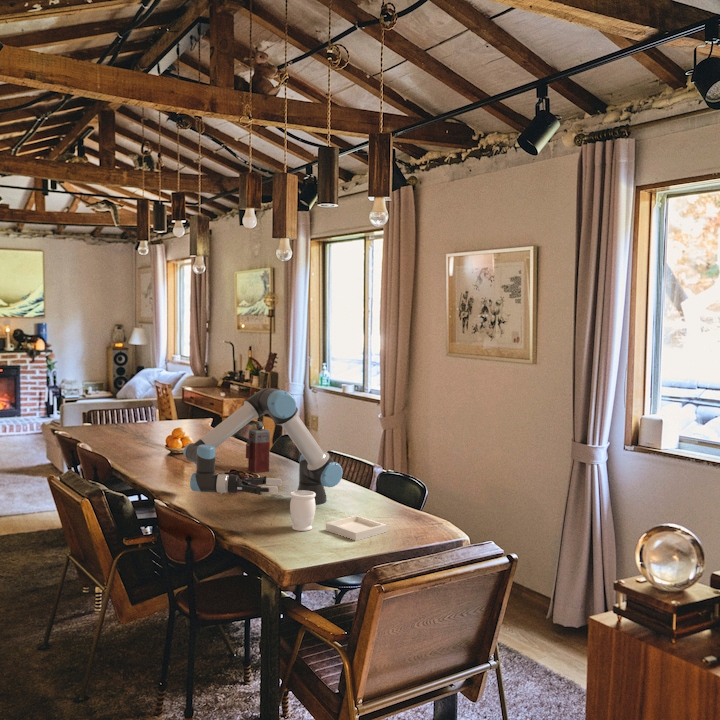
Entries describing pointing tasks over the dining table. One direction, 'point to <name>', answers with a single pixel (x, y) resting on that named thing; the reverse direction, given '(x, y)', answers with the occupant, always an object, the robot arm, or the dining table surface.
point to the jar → (302, 509)
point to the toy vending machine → (258, 449)
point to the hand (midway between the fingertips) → (279, 486)
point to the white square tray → (356, 527)
